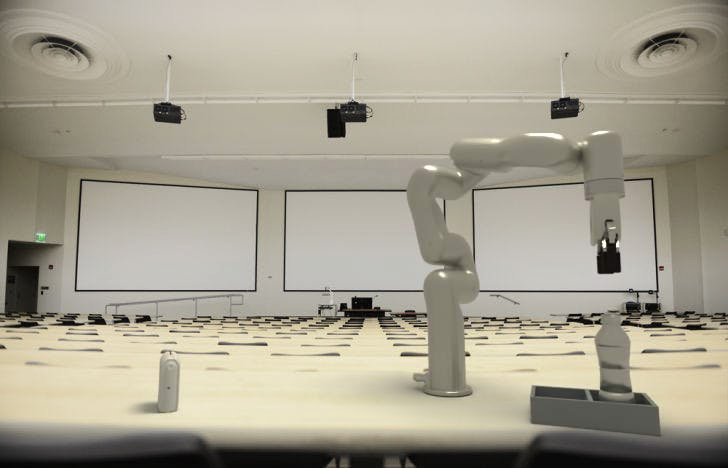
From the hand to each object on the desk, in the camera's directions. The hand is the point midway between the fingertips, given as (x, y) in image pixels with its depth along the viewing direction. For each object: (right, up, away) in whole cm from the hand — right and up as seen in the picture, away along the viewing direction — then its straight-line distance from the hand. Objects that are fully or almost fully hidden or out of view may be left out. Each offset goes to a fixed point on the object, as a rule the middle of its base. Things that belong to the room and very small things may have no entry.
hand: (608, 273), depth 94 cm
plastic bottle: (+1, -29, -2) cm, 29 cm away
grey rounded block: (-95, -31, +10) cm, 100 cm away
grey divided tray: (-5, -29, -2) cm, 30 cm away
